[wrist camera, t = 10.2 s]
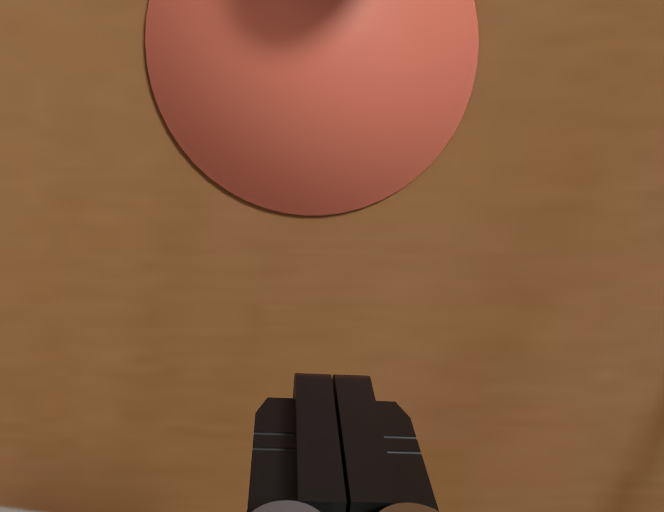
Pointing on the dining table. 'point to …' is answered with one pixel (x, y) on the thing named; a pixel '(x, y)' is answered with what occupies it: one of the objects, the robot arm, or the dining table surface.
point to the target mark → (312, 93)
